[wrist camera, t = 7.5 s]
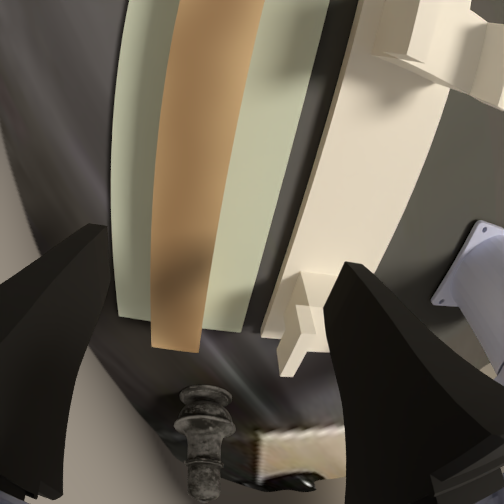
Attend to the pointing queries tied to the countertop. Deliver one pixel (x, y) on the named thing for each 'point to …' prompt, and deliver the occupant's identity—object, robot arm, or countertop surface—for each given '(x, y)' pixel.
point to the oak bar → (195, 159)
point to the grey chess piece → (204, 437)
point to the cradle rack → (376, 149)
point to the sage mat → (242, 157)
